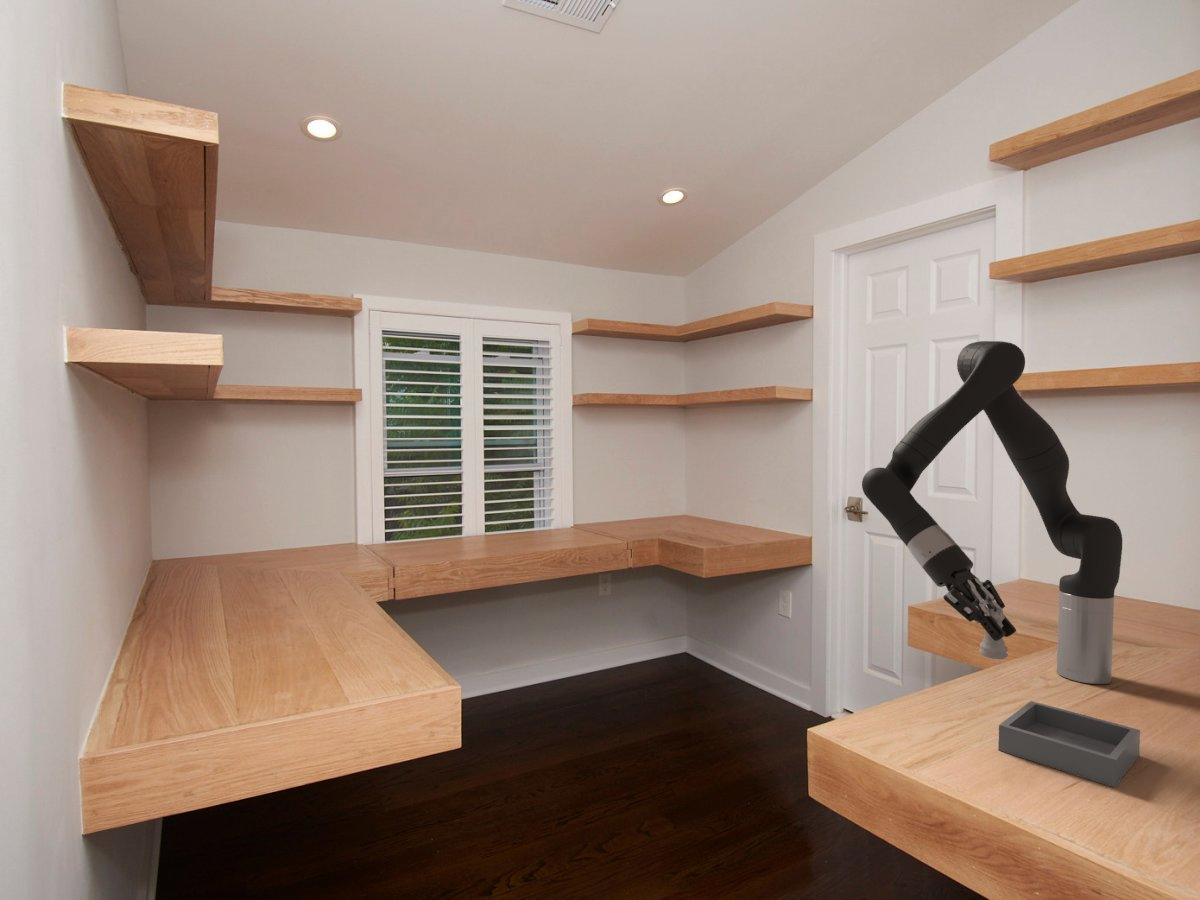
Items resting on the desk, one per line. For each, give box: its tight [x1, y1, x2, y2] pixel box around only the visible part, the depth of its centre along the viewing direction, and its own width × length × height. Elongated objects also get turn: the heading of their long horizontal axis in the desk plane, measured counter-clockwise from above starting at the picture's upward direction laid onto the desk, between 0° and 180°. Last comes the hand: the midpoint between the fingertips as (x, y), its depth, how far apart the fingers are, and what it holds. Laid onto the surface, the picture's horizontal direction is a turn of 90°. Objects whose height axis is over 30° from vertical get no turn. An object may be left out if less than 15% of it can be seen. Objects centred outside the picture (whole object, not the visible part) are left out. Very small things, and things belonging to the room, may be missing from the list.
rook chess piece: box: [978, 609, 1009, 660], centre depth 121 cm, size 4×4×8 cm
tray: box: [998, 700, 1141, 789], centre depth 108 cm, size 15×15×4 cm
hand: (1006, 635), depth 120 cm, fingers closed on rook chess piece, 3 cm apart
